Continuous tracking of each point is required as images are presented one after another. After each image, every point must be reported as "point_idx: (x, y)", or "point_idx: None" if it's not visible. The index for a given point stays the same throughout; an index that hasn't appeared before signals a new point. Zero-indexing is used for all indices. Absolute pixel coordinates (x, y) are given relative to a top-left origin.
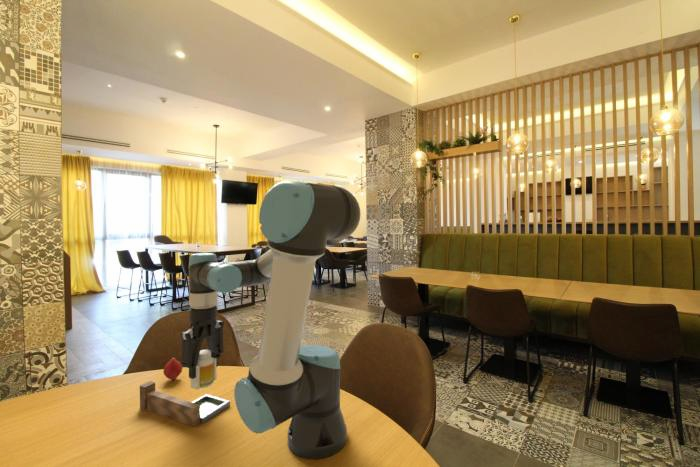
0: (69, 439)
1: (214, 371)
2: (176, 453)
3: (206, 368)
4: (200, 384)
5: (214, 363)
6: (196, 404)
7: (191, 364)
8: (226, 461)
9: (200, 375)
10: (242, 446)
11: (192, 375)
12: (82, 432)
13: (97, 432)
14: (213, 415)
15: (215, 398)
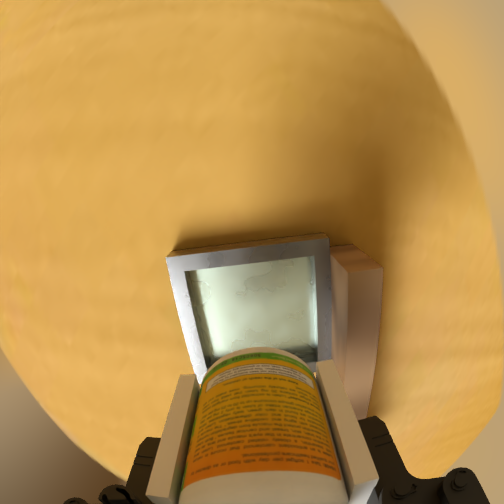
0: (459, 414)
1: (186, 416)
2: (451, 166)
3: (295, 450)
4: (311, 378)
5: (174, 466)
6: (351, 292)
7: (446, 493)
8: (389, 9)
9: (324, 423)
10: (323, 4)
11: (386, 434)
12: (441, 424)
13: (439, 410)
14: (267, 240)
15: (194, 329)
